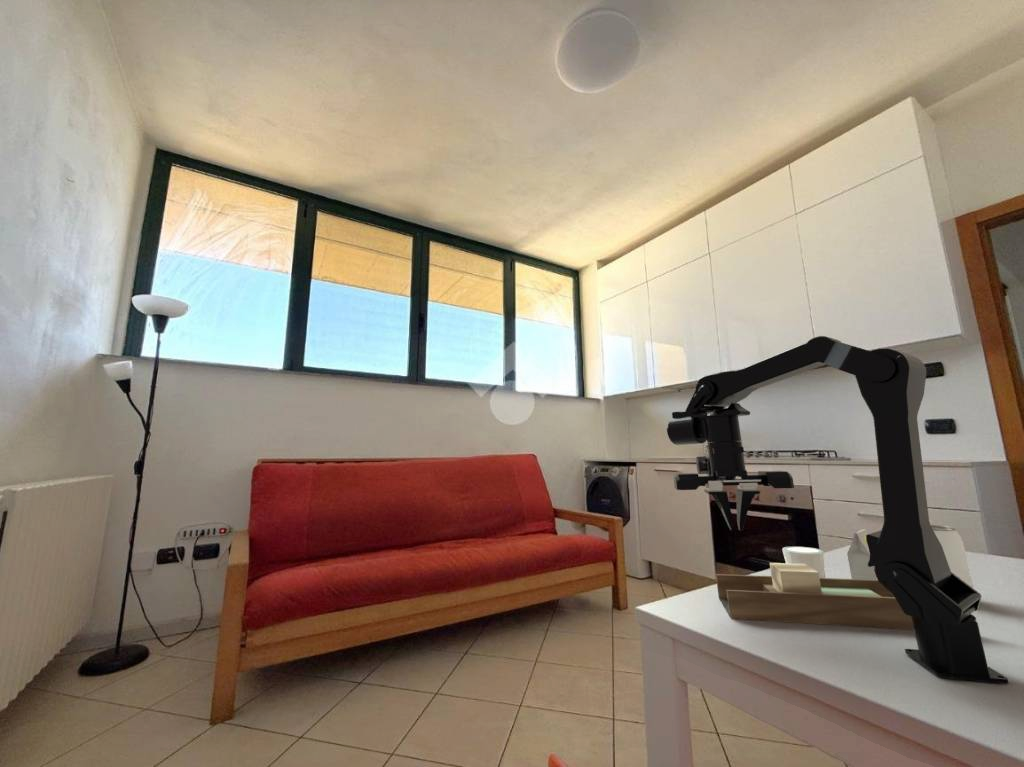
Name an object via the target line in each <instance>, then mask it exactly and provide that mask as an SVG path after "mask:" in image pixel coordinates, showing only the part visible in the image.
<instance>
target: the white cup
mask: <svg viewBox="0 0 1024 767" xmlns="http://www.w3.org/2000/svg"><path fill="white" fill-rule="evenodd" d="M781 551H782V554H783V557H784V561H785V563H793V564H806V565H808V566H809V567H811V568H812V569H814V570H816V571H817V572H818V573H819V578H826V570H825V557H824V556H825V554H824V552H825V551H824V550H822V549H819V548H815V547H810V546H807V547H806V546H800V545H799V546H798V545H797V546H785V547H782V550H781Z"/></svg>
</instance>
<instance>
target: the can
mask: <svg viewBox="0 0 1024 767" xmlns="http://www.w3.org/2000/svg"><path fill="white" fill-rule="evenodd" d="M930 525H931V527H932V529H933V531H934V533H935V535H936V536H937V538H938V540H939V542H940V544H941V545H942V548H943V551H944V553H945V556H946V559H947V562H948V565H949V568H950V571H951V572H952V573H953V574H955V575H956V576H957V577H959V578H960V579H961V580H963V581H964V582H965V583H966V584H968V585H969V586H970V587H972V588H973V589H974V590H975V588H974V584H973V579H972V576H971V572H970V571H971V570H970V567H969V562H968V557H967V553H966V549H965V544H964V542H963V538H962V537H961V535H960V534H959V533H958V532H957V528H955V527H953V526H946V525H933V524H930Z"/></svg>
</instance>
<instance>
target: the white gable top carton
mask: <svg viewBox="0 0 1024 767" xmlns="http://www.w3.org/2000/svg"><path fill="white" fill-rule="evenodd" d="M868 534H870V533H869V531H868V528H863V529H861V530H859V531H856V532H854V533H853V537H852V541H851V544H850V546H849V548H848V551H847V561H848V566H849V570H850V576H851V579H865V580H878V579H877V577H876V575H875V571H874V566H872V567H869V566H868V562H869V560H870V552H869V548H868V544H867V540H866V535H868Z"/></svg>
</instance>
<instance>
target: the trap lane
mask: <svg viewBox="0 0 1024 767" xmlns="http://www.w3.org/2000/svg"><path fill="white" fill-rule="evenodd" d="M715 579H716V586H717V595H718V600H719V601H720V602H722V603H721V604H723V605H722V607H723V608H724V610H725V609H726V610H725V611H726V613H727V615H728V614H729V615H728V616H729V618H730V619H732V618H739V619H738V620H751V621H753V620H754V621H765V622H767V621H769V622H780V623H781V622H782V623H785V622H786V623H798V624H799V623H801V624H815V625H830V626H847V627H848V626H849V627H861V628H862V627H864V628H865V627H866V628H881V629H897V630H910V631H912V630H914V626H913V621H912V616H909V615H906V614H905V613H904V612H903V610H902V608H901V607H900V605H899V603H898V602H897V600H896V598H895V597H894V595H893V593H891V592H890V591H888V590H887V589H886V588H885V587H884V586H883V585H882V584H881V583H880V582H879V581H878V580H865V579H852V578H833V577H825V578H819V579H820V585H821V591H822V594H812V593H789V592H778V591H777V590H776V589H775V588H774V587H773V583H772V576H771V575H749V574H748V575H746V574H725V573H724V574H719V573H716V574H715Z"/></svg>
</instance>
